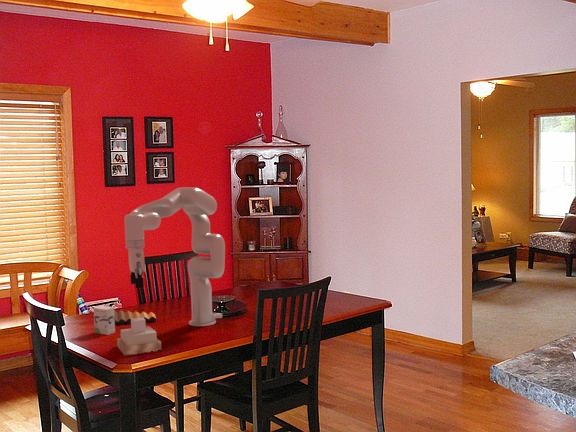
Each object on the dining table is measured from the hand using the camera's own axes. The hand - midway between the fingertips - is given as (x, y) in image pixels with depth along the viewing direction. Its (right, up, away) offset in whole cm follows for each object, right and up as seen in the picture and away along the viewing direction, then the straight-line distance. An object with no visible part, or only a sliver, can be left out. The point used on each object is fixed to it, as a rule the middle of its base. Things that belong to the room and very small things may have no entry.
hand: (137, 285), depth 283 cm
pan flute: (-17, -23, +57) cm, 63 cm away
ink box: (-21, -25, +30) cm, 44 cm away
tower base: (0, -27, +2) cm, 27 cm away
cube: (0, -19, +1) cm, 19 cm away
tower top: (0, -23, +2) cm, 23 cm away
